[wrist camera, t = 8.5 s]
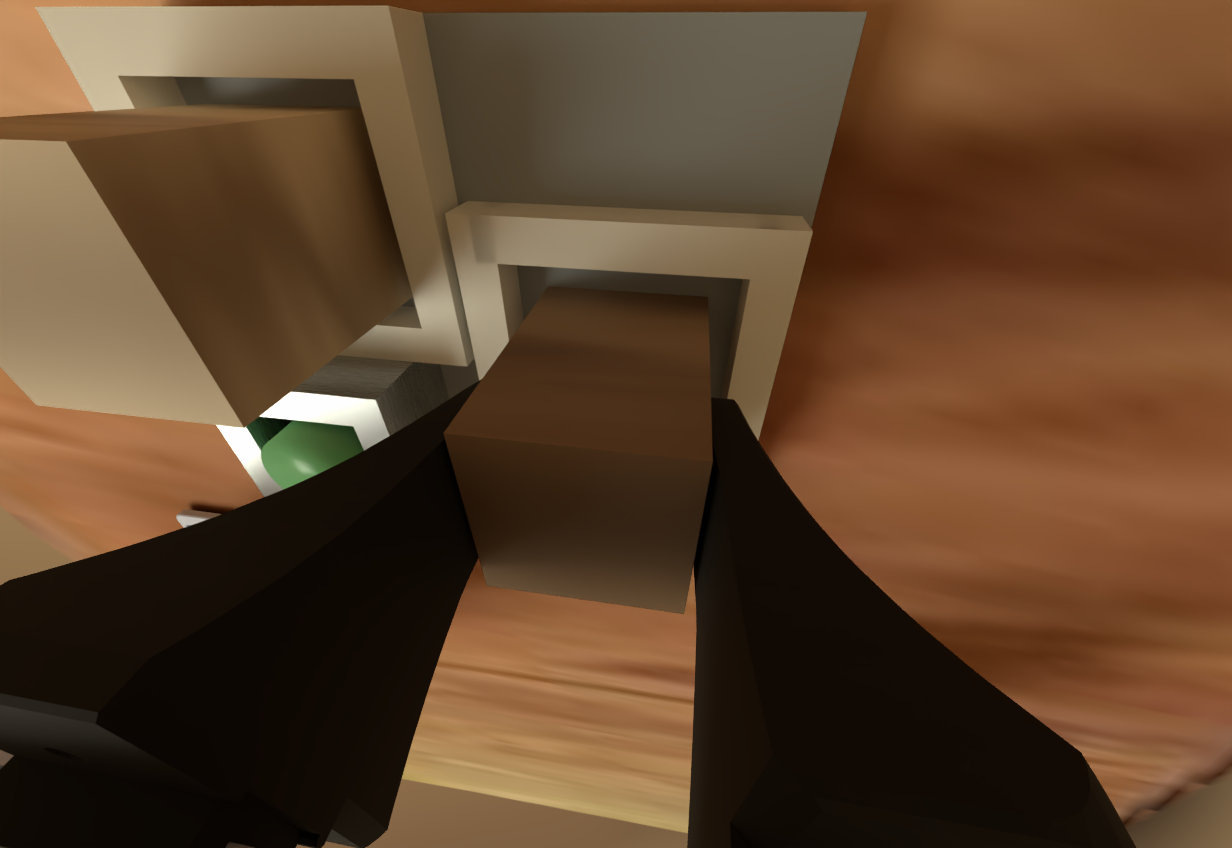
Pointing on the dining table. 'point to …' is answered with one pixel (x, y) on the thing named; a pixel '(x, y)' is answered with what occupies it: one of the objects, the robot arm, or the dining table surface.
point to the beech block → (189, 255)
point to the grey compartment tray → (535, 151)
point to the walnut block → (592, 449)
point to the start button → (308, 450)
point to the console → (344, 406)
